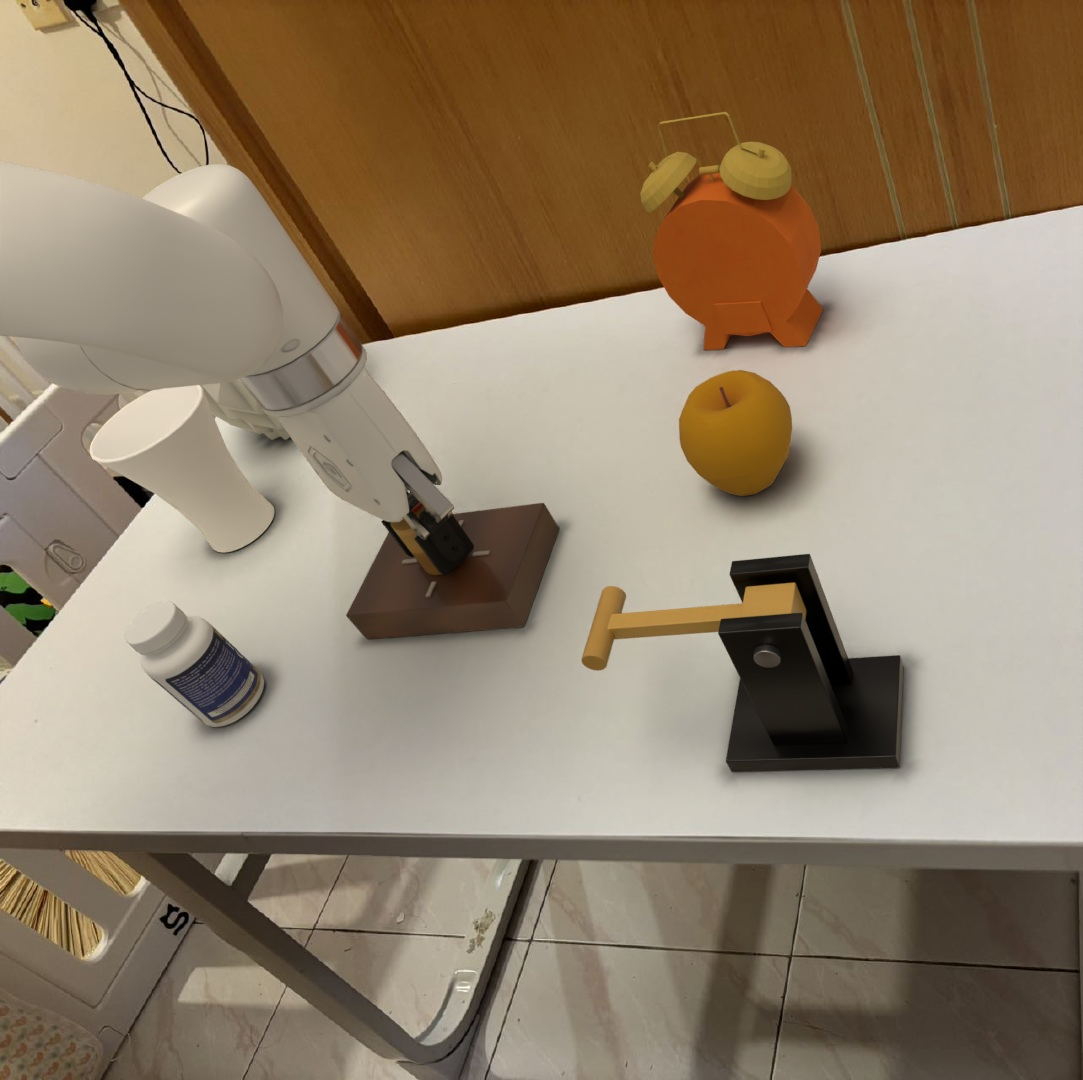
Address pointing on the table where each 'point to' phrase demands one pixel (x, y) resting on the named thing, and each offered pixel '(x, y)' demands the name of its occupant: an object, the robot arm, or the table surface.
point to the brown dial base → (460, 579)
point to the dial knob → (408, 538)
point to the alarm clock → (736, 244)
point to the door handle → (678, 618)
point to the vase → (241, 409)
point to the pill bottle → (194, 664)
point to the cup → (184, 464)
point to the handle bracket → (806, 683)
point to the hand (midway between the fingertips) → (440, 550)
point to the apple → (736, 431)
